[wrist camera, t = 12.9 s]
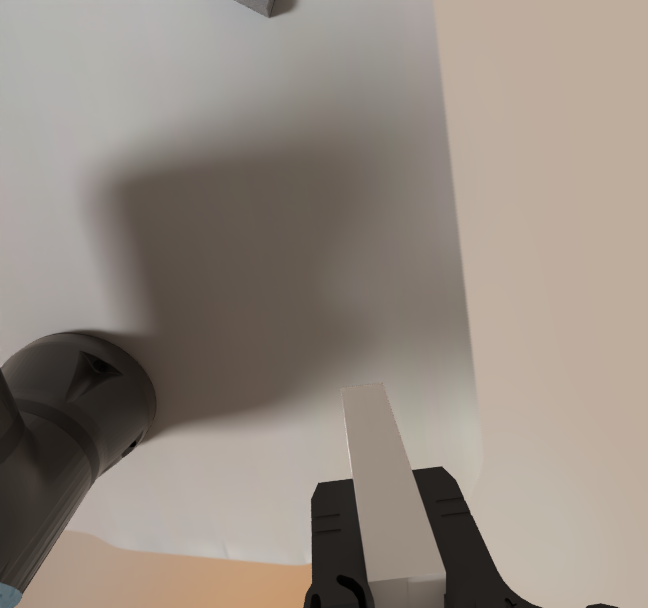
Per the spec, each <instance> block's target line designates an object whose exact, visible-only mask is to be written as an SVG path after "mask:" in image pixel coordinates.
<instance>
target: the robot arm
mask: <svg viewBox="0 0 648 608" xmlns="http://www.w3.org/2000/svg"><path fill="white" fill-rule="evenodd" d="M341 397H342V405H343V413H344V421H345V429H346V437H347V445H348V453H349V460H350V467H351V474H352V479H346V480H338V481H330V482H322V483H318V485H317V487H316V489H315V492H314V494H313V496H312V499H311V518H312V521H311V523H312V584H311V586H310V588H309V590H308V591H307V593H306V596H305V602H304V607H303V608H542V607H539V606H536V605H533V604H531V603H529V602H528V601H526V600H524V599H522V598H521V597H520V596H518V595H517V594H516V593H514V592H513V591H512V590H511V589H510V588H509V587H508V585H507V584H506V583H505V582H504V581H503V579H502V578H501V576H500V574H499V572H498V571H497V569H496V567H495V564H494V562H493V560H492V558H491V556H490V554H489V551H488V549H487V547H486V545H485V543H484V540H483V538H482V536H481V534H480V532H479V530H478V527H477V525H476V523H475V521H474V519H473V516H472V515H471V513H470V510H469V508H468V506H467V503H466V501H464V497H463V495H462V493H461V490H460V488H459V486H458V484H457V482H456V480H455V479H454V478H453V477H452V476H451V475H450V474H449V473H448V472H447V471H446V470H445V469H444V468H443V467H442V466H441V467H433V468H425V469H417V470H412V469H411V466H410V463H409V460H408V457H407V454H406V451H405V448H404V445H403V442H402V439H401V436H400V433H399V430H398V427H397V424H396V421H395V418H394V415H393V412H392V409H391V406H390V403H389V400H388V397H387V395H386V392H385V389H384V386H383V383H375V384H367V385H359V386H352V387H344V388H341ZM155 410H156V398H155V393H154V389H153V386H152V384H151V382H150V379H149V378H148V376H147V374H146V373H145V371H144V370H143V369H142V367H141V366H140V365H139V364H138V363H137V362H136V361H135V360H134V359H133V358H132V357H131V356H130V355H128V354H127V353H126V352H124V351H123V350H121V349H120V348H118V347H116V346H115V345H113V344H111V343H109V342H106V341H104V340H101V339H98V338H95V337H92V336H87V335H82V334H71V333H66V334H55V335H50V336H46V337H43V338H40V339H38V340H36V341H34V342H32V343H30V344H29V345H27V346H26V347H24V348H23V349H21V350H20V351H18V352H17V353H15V354H14V355H13V356H11V357H10V358H9V359H8V360H7V361H6V362H5V363H4V365H3V366H2V367H1V368H0V608H14V607H15V606H16V605H17V604H18V603H19V602H20V600H21V598H22V594H23V593H24V591H25V589H26V588H27V586H28V585H29V583H30V582H31V580H32V579H33V577H34V575H35V574H36V572H37V571H38V569H39V568H40V566H41V564H42V563H43V561H44V560H45V558H46V557H47V555H48V554H49V552H50V550H51V549H52V547H53V546H54V544H55V543H56V541H57V539H58V538H59V536H60V535H61V533H62V532H63V530H64V528H65V527H66V525H67V524H68V522H69V521H70V519H71V517H72V516H73V514H74V513H75V511H76V510H77V508H78V506H79V505H80V503H81V502H82V500H83V499H84V497H85V495H86V494H87V492H88V491H89V489H90V488H91V486H92V485H93V483H94V482H95V480H96V479H97V478H98V477H100V476H101V475H102V474H104V473H105V472H106V471H107V470H109V469H110V468H111V467H112V466H114V465H115V464H116V463H118V462H119V461H120V460H121V459H122V458H123V457H125V456H126V455H128V454H129V453H130V452H131V451H133V450H134V449H135V448H136V447H137V445H138V444H139V443H140V442H141V440H142V439H143V437H144V436H145V434H146V432H147V431H148V429H149V427H150V426H151V424H152V421H153V419H154V415H155ZM586 608H618V607H615V606H610V605H606V604H601V603H600V604H595V605H589V606H587V607H586Z"/></svg>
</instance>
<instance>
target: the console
mask: <svg viewBox="0 0 648 608" xmlns="http://www.w3.org/2000/svg"><path fill="white" fill-rule="evenodd" d="M235 1H237V2H239V3H241V4H243V5H245V6H246V7H248V8H250V9H252V10H254V11H256V12H258V13H260V14H262V15H264V16H266V17H268V18H269V16H270V13H271V10H272V7H273V4H274V0H235Z"/></svg>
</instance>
